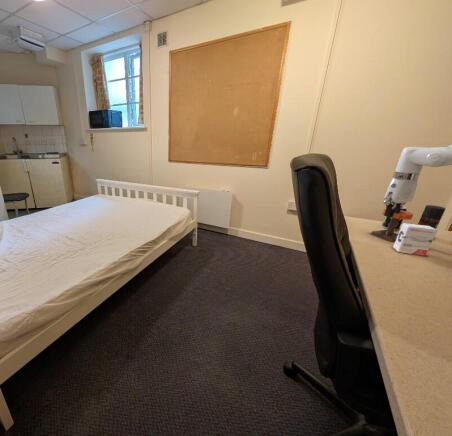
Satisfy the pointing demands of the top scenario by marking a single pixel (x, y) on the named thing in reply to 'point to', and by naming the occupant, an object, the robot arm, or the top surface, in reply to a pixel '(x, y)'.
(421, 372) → the top surface
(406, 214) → the orange ring
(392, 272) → the top surface
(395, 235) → the rack
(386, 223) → the beverage can
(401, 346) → the top surface
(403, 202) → the robot arm
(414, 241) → the ink box
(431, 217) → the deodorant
